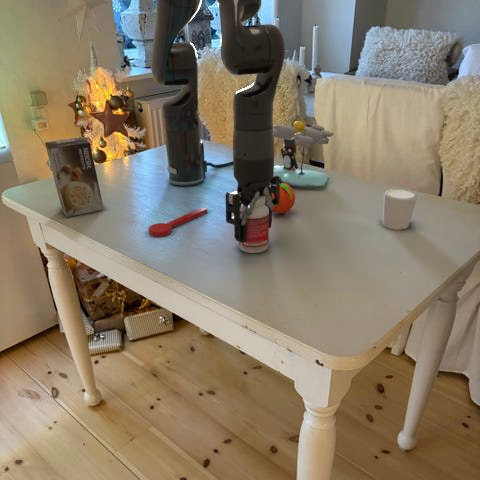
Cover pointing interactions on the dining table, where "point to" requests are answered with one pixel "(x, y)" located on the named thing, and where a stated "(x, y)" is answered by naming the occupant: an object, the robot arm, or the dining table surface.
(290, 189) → the clementine
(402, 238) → the dining table surface
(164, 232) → the spoon
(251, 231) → the pill bottle
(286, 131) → the penguin figurine
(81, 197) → the coffee box
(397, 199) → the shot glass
